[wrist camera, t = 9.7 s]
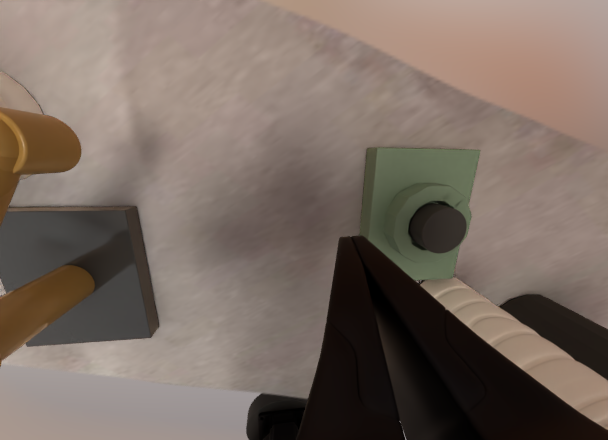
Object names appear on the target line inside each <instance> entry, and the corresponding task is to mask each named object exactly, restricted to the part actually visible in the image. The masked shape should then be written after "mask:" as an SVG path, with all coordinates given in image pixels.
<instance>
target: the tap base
mask: <svg viewBox="0 0 608 440" xmlns="http://www.w3.org/2000/svg"><path fill="white" fill-rule="evenodd" d="M0 278H1V281H2V283H3V286H4V289H5V291H6V294H4V295H2V296H0V355H1V361H3V360H4V359H5V358H7V357H8V356H9V355H11V354H12V353H13V352H15V351H16V350H18V349H19V348H20V347H22V346H23V345H24V344H26V345H27V347H31V346H44V345H58V344H72V343H86V342H100V341H114V340H128V339H142V338H151V337H152V336H153V334H154V333H155V331H156V330H157V328H158V327H159V323H158V318H157V313H156V308H155V302H154V297H153V292H152V286H151V281H150V276H149V271H148V265H147V260H146V255H145V249H144V244H143V239H142V234H141V228H140V223H139V218H138V212H137V207H136V206H118V207H8V209H7V211H6V214H5V216H4V219H3V221H2V224H1V226H0Z"/></svg>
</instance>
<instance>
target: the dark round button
mask: <svg viewBox="0 0 608 440" xmlns="http://www.w3.org/2000/svg"><path fill="white" fill-rule="evenodd" d="M466 230H467V222H466V219H465V217H464V215H463V214H462V213H461V212H460V211H459V210H457V209H454V208H451V207H447V206H444V205H440V204H428V205H425V206H423V207H421V208H420V209H419V210H418V211H417V212H416V213H415V214H414V215H413V217H412V219H411V221H410V225H409V231H410V235H411V237H412V239H413V240H414V241H415V242H416V243H417V244H419V245H420V246H422V247H424V248H425V249H427V250H429V251H430V252H433V253H439V254H441V253H446V252H449V251H451V250H453V249H454V248H456V247H457V246H458V245H459V244H460V243H461V241H462V240H463V238H464V236H465V234H466Z"/></svg>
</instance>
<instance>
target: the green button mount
mask: <svg viewBox="0 0 608 440" xmlns="http://www.w3.org/2000/svg"><path fill="white" fill-rule="evenodd" d="M479 155H480V150H466V149H423V148H380V147H378V148H368V149H367V156H366V167H365V178H364V190H363V201H362V212H361V224H360V235H363V236H364V237H366V238H367V239H368V240H369V241H370V242H371V243H372V244H374V245H375V246H376V247H377V248H378V249H379V250H380V251H382V252H383V253H384V254H385V255H386V256H387V257H388V258H390V259H391V260H392V261H393V262H394V263H395V264H396V265H398V266H399V267H400V268H401V269H402V270H403V271H404V272H405V273H407V274H408V275H409V276H410V277H411V278H412V279H413V280H433V279H452V278H453V274H454V269H455V265H456V260H457V255H458V251H459V246H460V244H461V243H462V242H463V240H464V239H465V238H466V236H467V234H468V229H469V225H470V221H471V212H470V208H469V201H470V196H471V191H472V187H473V182H474V178H475V173H476V169H477V164H478V159H479ZM428 204H440V205H444V206H447V207H451V208H454V209H457V210H459V211H460V212H461V213H462V214H463V215H464V217H465V219H466V222H467V230H466V234H465V236H464V238H463V240H462V241H461V243H460V244H459V245H458V246H457V247H456V248H454V249H453V250H451V251H449V252H446V253H441V254H439V253H433V252H430V251H429V250H427V249H425V248H424V247H422V246H420V245H419V244H417V243H416V242H415V241H414V240H413V239H412V237H411V235H410V231H409V225H410V221H411V219H412V217H413V215H414V214H415V213H416V212H417V211H418V210H419V209H420V208H421V207H423V206H425V205H428Z"/></svg>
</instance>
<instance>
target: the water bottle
mask: <svg viewBox="0 0 608 440" xmlns="http://www.w3.org/2000/svg"><path fill="white" fill-rule="evenodd" d="M420 286H421V287H423V288H424V289H425V290H426V291H427V292H428V293H429V294H431V295H432V296H433V297H434V298H435V299H436V300H437V301H439V302H440V303H441V304H442V305H443V306H444V307H445V308H446V310H449V311H450V312H451V313H452V314H454V315H455V316H456V317H457V318H458V319H459V320H460V321H462V322H463V323H464V324H465V325H466V326H468V327H469V328H470V329H471V330H472V331H473V332H475V333H476V334H477V335H478V336H479V337H481V338H482V339H483V340H484V341H486V342H487V343H488V344H490V345H491V346H492V347H493V348H495V349H496V350H497V351H499V352H500V353H501V354H502V355H504V356H505V357H506V358H508V359H509V360H510V361H512V362H513V363H514V364H516V365H517V366H518V367H520V368H521V369H522V370H524V371H525V372H526V373H528V374H529V375H530V376H531V377H533V378H534V379H535V380H537V381H538V382H539V383H541V384H542V385H543V386H545V387H546V388H547V389H549V390H550V391H551V392H553V393H554V394H555V395H557V396H558V397H559V398H561V399H562V400H563V401H565V402H566V403H567V404H569V405H570V406H571V407H573V408H574V409H576V410H577V411H578V412H580V413H582V414H583V415H585V416H586V417H588V418H589V419H591V420H592V421H594V422H596V423H597V424H599V425H600V426H602V427H604V428H605V429H607V430H608V380H606V379H605V378H603V377H602V376H600V375H599V374H598V373H596V372H595V371H593V370H592V369H590V368H588V367H587V366H585V365H583V364H582V363H580V362H577V361H575V360H574V359H573V358H572V357H571V356H570V355H569V354H567V353H566V352H565V351H563V350H562V349H560V348H559V347H558V346H556V345H555V344H553V343H551V342H550V341H548V340H546V339H545V338H543V337H540V335H539V334H538V333H536V332H535V331H534V330H532V329H531V328H529V327H528V326H526V325H524V324H522V323H521V322H519V321H518V320H517V319H516V318H514V317H513V316H512V315H510V314H509V313H507V312H506V311H504V310H503V309H501V308H499V307H498V306H496V305H494V304H493V303H492V302H491V301H489V300H488V299H487V298H485V297H484V296H482V295H481V294H479V293H477V292H475V291H474V290H473V289H472V288H470V287H469V286H468V285H466V284H465V283H463V282H462V281H460V280H459V279H457V278H455V277H453V278H452V279H433V280H425V281H424V282H422V283H421V284H420Z"/></svg>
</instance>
